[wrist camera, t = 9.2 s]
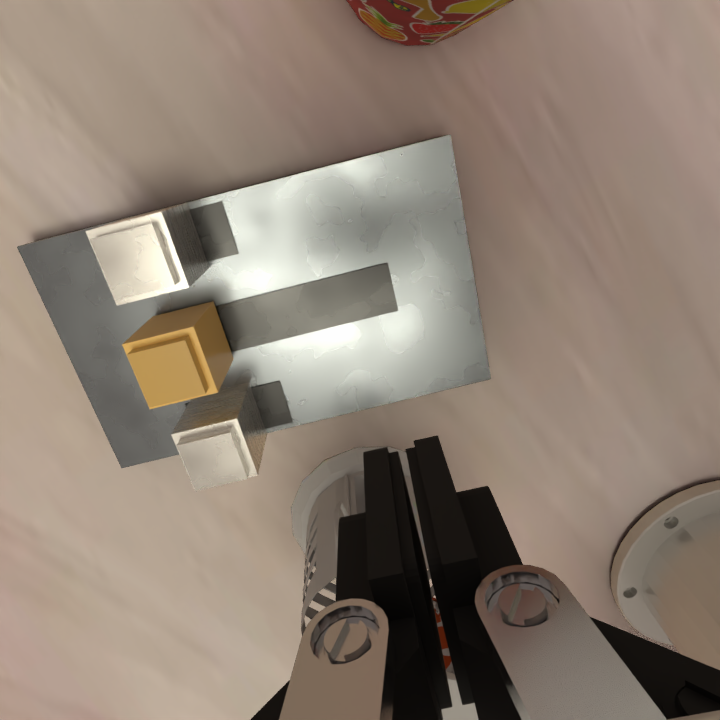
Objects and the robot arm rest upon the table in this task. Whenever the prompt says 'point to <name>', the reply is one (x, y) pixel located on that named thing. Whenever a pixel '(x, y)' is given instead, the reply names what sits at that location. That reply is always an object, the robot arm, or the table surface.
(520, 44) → the table surface
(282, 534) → the table surface
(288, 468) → the table surface
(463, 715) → the french press
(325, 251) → the panel
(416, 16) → the smoothie
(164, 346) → the orange rectangular block
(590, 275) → the table surface
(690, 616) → the robot arm
